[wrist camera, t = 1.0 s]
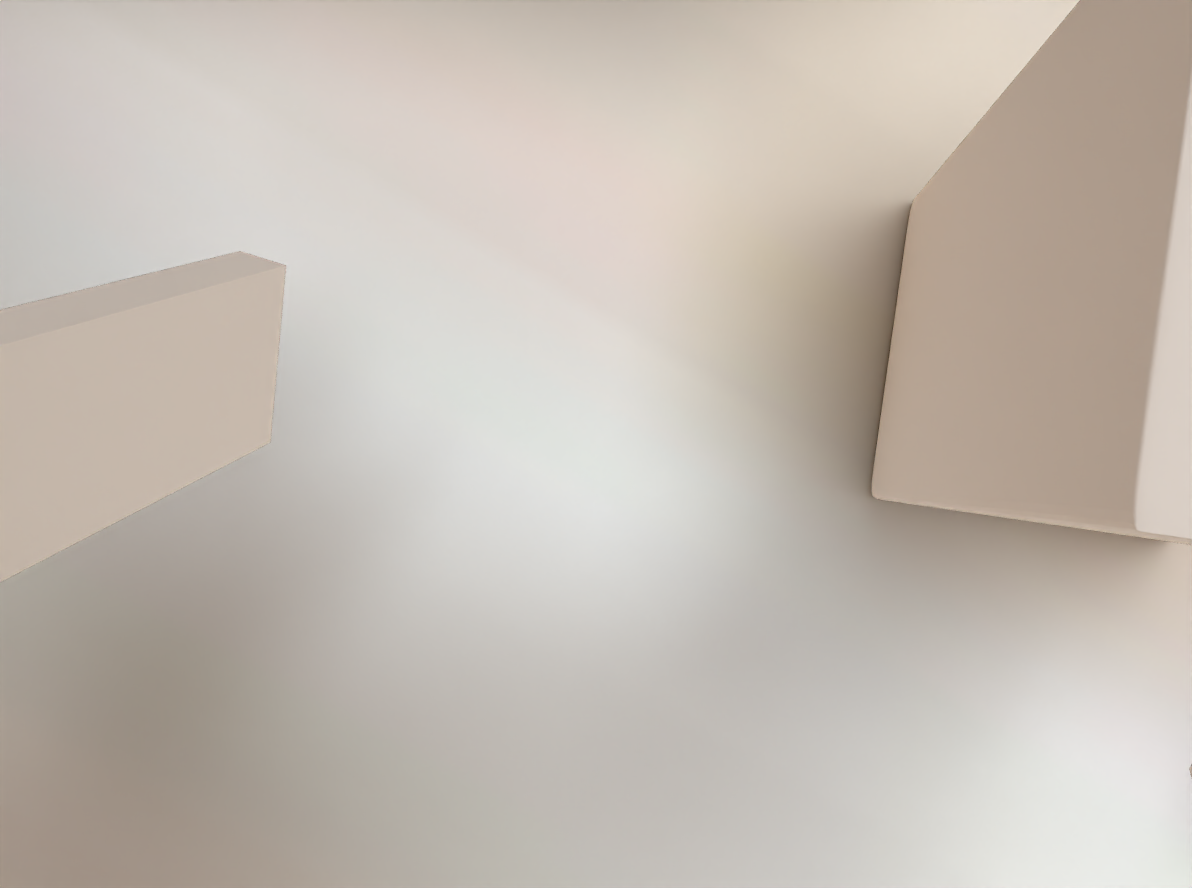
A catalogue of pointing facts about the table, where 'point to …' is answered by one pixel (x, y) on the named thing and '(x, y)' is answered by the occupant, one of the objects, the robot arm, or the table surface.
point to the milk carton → (1056, 293)
